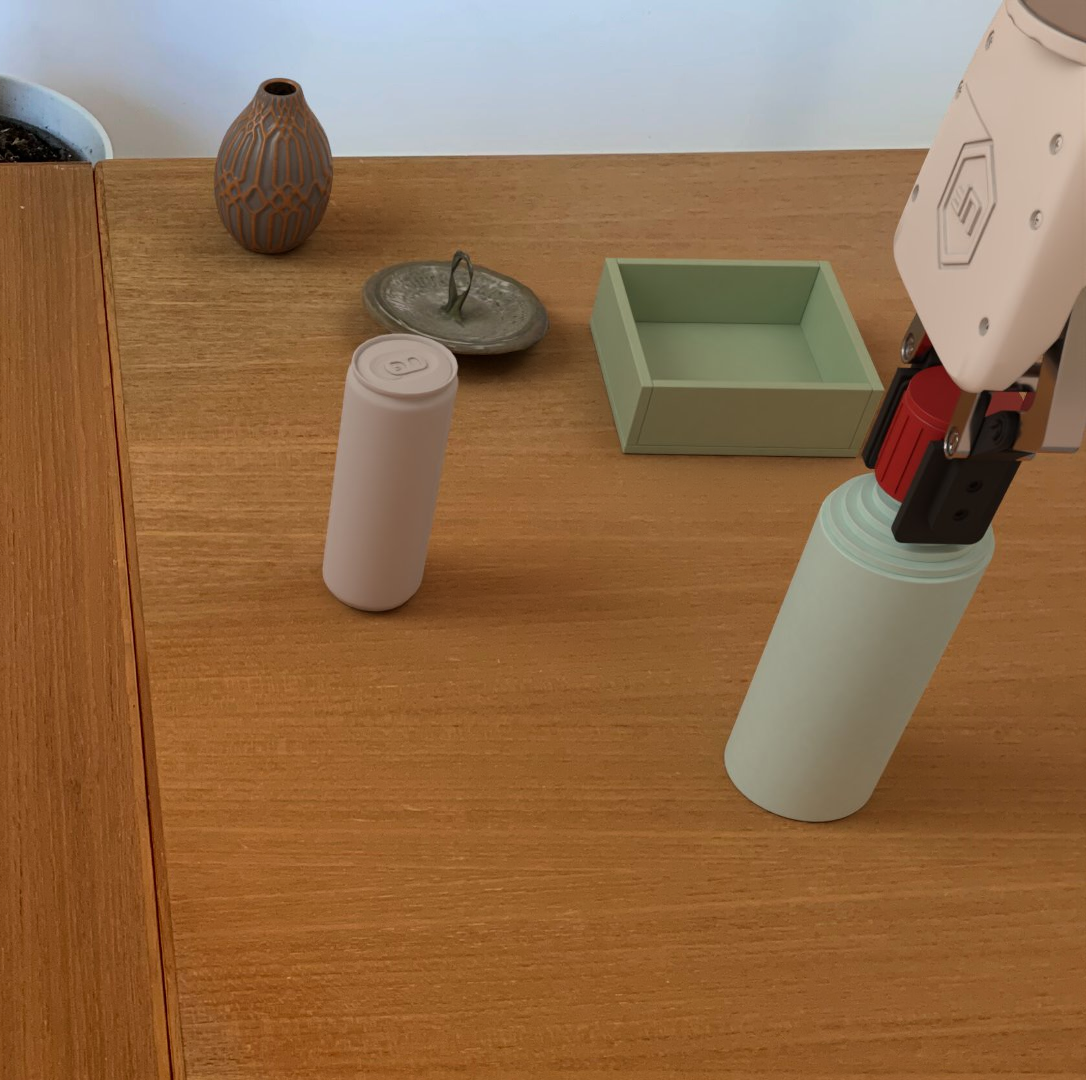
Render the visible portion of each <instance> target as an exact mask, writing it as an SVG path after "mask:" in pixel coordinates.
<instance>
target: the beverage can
mask: <svg viewBox="0 0 1086 1080" xmlns="http://www.w3.org/2000/svg"><path fill="white" fill-rule="evenodd" d="M352 354H353V355H352V357H351V363H350V364H349V367H348V369H347V373H346V377H345V385H344V393H343V401H342V409H341V417H340V425H339V432H338V441H337V450H336V457H335V465H334V474H333V479H332V481H333V482H332V489H331V495H330V496H331V497H330V505H329V513H328V521H327V530H326V537H325V545H324V552H323V553H324V554H323V561H322V570H321V571H322V572H321V573H322V578H323V581H324V583H325V585H326V587H327V589H328V590H329V591H330V593H331V594H332V595H333V596H334V597H335V598H336V599H338V600H339V602H342V603H343V604H345V605H347V606H348V607H350V608H352V609H353V608H354V609H357V610H360V611H365V612H366V611H367V612H384V611H389V610H393V609H395V608H397V607H400V606H402V605H403V604H405V603H406V602H407V601H409V600H410V598H411V597H412V596H414V595H415V593H416V592H417V591H418V590H419V588H420V587H421V585H422V580H423V576H424V571H425V565H426V561H427V555H428V550H429V545H430V538H431V533H432V527H433V523H434V516H435V511H436V507H437V500H438V496H439V489H440V484H441V479H442V473H443V468H444V463H445V457H446V452H447V447H448V441H449V436H450V430H451V425H452V420H453V415H454V410H455V409H454V408H455V404H456V398H457V393H458V389H459V378H458V371H459V370H458V369H459V365H458V362H457V358H456V356H455V355H454V354H453V352H451V351H450V350H448V349H447V348H446V347H445V346H443V345H442V344H440V343H438V342H436V341H434V340H432V339H429V338H425V337H422V336H418V335H411V334H393V333H389V334H382V335H377V336H375V337H372V338H370V339H367V340H366V341H364V342H363V343H360V345H359V346H358V347H357V348H356V349H355V350H354V351H353V353H352Z"/></svg>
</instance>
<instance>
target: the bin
mask: <svg viewBox="0 0 1086 1080" xmlns="http://www.w3.org/2000/svg"><path fill="white" fill-rule="evenodd" d="M589 319H590V320H589V327H590V333H591V335H592V340H593V343H594V346H595V351H596V354H597V358H598V363H599V366H600V370H601V374H602V378H603V381H604V385H605V389H606V392H607V396H608V400H609V404H610V408H611V413H612V416H613V421H614V424H615V428H616V431H617V435H618V439H619V443H620V446H621V450H622V453H623V454H639V455H640V454H643V455H645V454H646V455H648V454H649V455H703V456H705V455H706V456H707V455H708V456H709V455H710V456H759V457H760V456H761V457H765V456H767V457H818V458H819V457H822V458H823V457H824V458H825V457H827V458H831V457H832V458H857V457H858V456H859V453H860V451H861V449H862V446H863V443H864V442H865V439H866V437H867V434H868V432H869V430H870V427H871V424H872V421H873V420H874V417H875V414H876V412H877V410H878V408H879V405H880V404H881V403H880V402H881V400H882V397H883V395H884V393H885V391H886V389H885V388H884V385H883V382H882V380H881V378H880V376H879V373H878V371H877V369H876V366H875V363H874V362H873V360H872V357H871V355H870V353H869V351H868V348H867V345H866V343H865V342H864V341H865V340H864V339H863V336H862V333H861V332H860V330H859V329H860V328H859V327H858V324H857V323H856V320H855V318H854V316H853V314H852V312H851V309H850V307H849V304H848V301H847V300H846V297H845V295H844V293H843V290H842V287H841V286H840V283H839V281H838V278H837V276H836V274H835V272H834V269H833V267H832V265H831V263H830V261H829V260H792V259H791V260H790V259H789V260H787V259H786V260H785V259H784V260H783V259H774V260H773V259H724V258H723V259H719V258H717V259H716V258H715V259H714V258H655V257H653V258H650V257H646V258H645V257H605V259H604V263H603V267H602V271H601V275H600V279H599V282H598V288H597V290H596V295H595V299H594V305H593V307H592V310H591V315H590V318H589Z"/></svg>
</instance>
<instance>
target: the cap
mask: <svg viewBox="0 0 1086 1080" xmlns="http://www.w3.org/2000/svg"><path fill="white" fill-rule="evenodd" d="M961 390H962V389H961V388H960V387H959V386H958V385H957V384H956V383H955V382H954V381H953V380H952V378H951V377H950V376H949V374H948V373H947V371H946V369H945V367H944V366H943V365H941V366H935V367H930V368H927V369H925V370H922V371H920V372H919V373H917V374H916V375H915V376H914V377H913V378H912V379H911V381H910V383H909V385H908V388H907V390H906V391H904V394H903V396H902V398H901V401H900V403H899V406H898V408H897V411H896V413H895V416H894V418H893V420H892V423H891V425H890V428H889V430H888V433H887V435H886V437H885V440H884V442H883V445H882V447H881V450H880V452H879V455H878V457H879V458H878V460H877V463H876V465H875V469H874V473H875V477H876V480H877V482H878V484H879V486H880V487H881V488H882V489H883V490H884V491H885V492H886V493H887V494H888V495H889V496H891V497H892V498H893V499H895V500H897V501H899V502H900V503H902V502H903V499H904V497H905V495H906V493H907V491H908V488H909V486H910V484H911V482H912V480H913V477H914V475H915V473H916V471H917V469H918V466H919V464H920V462H921V460H922V458H923V455H924V453H925V451H926V449H927V446H928V444H929V442H930V440H944V437H945V434H946V431H947V428H948V426H949V423H950V420H951V417H952V415H953V412H954V409H955V407H956V404H957V401H958V398H959V396H960V393H961ZM1023 401H1024V398H1023V396H1022V394H1021V392H994V394H993V396H992V399H991V402H990V404H989V407H988V410H987V412H986V415H985V417H986V416H989V415H991V414H994V413H996V412H998V411H1002V410H1010V411H1013V410H1015V411H1020V408H1021V406H1022V403H1023Z"/></svg>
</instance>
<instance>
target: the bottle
mask: <svg viewBox="0 0 1086 1080" xmlns="http://www.w3.org/2000/svg"><path fill="white" fill-rule="evenodd" d="M901 504H902V503H900V502H899V501H897V500H895V499H893V498H892V497H891V496H889V495H888V494H887V493H886V492H885V491H884V490H883V489H882V488H881V487H880V486H879V484H878V482H877V480H876V477H875V472H868V473H864V474H861V475H857V476H854V477H852V478H850V479H848V480H846V481H844V482H843V483H842V484H840V485H839V486H838V487H837V488H835V489H833V490H832V491H831V492H830V493H829V494H827V496H826V497H825V499H824V500H823V501H822V504H821V506H820V508H819V511H818V513H817V515H816V518H815V520H814V523H813V526H812V529H811V531H810V533H809V536H808V538H807V541H806V543H805V546H804V547H803V550H802V553H801V556H800V559H799V561H798V563H797V566H796V569H795V571H794V574H793V576H792V579H791V581H790V584H789V586H788V589H787V591H786V594H785V596H784V599H783V601H782V604H781V606H780V608H779V611H778V614H777V617H776V619H775V621H774V624H773V626H772V629H771V631H770V634H769V637H768V639H767V642H766V643H765V647H764V650H763V651H762V654H761V657H760V659H759V663H758V664H757V667H756V668H755V671H754V675H753V676H752V679H751V682H750V685H749V688H748V690H747V692H746V695H745V697H744V699H743V702H742V705H741V707H740V710H739V712H738V714H737V718H736V720H735V722H734V725H733V727H732V730H731V732H730V735H729V737H728V740H727V742H726V744H725V749H724V757H723V760H724V765H725V770H726V773H727V775H728V776H729V779H730V781H731V782H732V783H733V785H734V786H735V787H736V789H737V790H738V791H739V792H740V793H741V794H742V795H743V796H744V797H746V798H747V799H748V800H749V801H751V802H752V803H754V804H755V805H757V806H758V807H760V808H762V809H763V810H765V811H768V812H769V813H771V814H774V815H777V816H780V817H782V818H787V819H791V820H793V821H794V820H795V821H800V822H801V821H802V822H813V823H816V822H817V823H818V822H820V823H821V822H830V821H836V820H840V819H843V818H845V817H848V816H850V815H852V814H854V813H856V812H858V811H859V810H860V809H861V808H863V807H864V806H865V805H866V804H867V802H868V801H869V800H870V798H871V796H872V795H873V793H874V791H875V789H876V786H877V785H878V782H879V781H880V779H881V777H882V775H883V773H884V771H885V769H886V768H887V765H888V764H889V761H890V759H891V757H892V756H893V753H894V752H895V749H896V747H897V745H898V743H899V741H900V739H901V738H902V735H903V733H904V731H905V730H906V727H907V725H908V724H909V722H910V720H911V718H912V716H913V714H914V713H915V710H916V708H917V706H918V704H919V702H920V700H921V698H922V696H923V695H924V692H925V690H926V689H927V686H928V685H929V683H930V680H931V678H932V676H933V675H934V672H935V671H936V668H937V666H938V665H939V663H940V660H941V659H942V657H943V655H944V654H945V651H946V649H947V648H948V645H949V643H950V641H951V639H952V637H953V635H954V634H955V631H956V630H957V628H958V625H960V624H959V623H960V621H961V620H962V618H963V616H964V614H965V612H966V610H967V608H968V606H969V604H970V602H971V600H972V598H973V596H974V594H975V593H976V590H977V589H978V586H979V584H980V582H981V580H982V578H983V576H984V574H985V572H986V570H987V569H988V566H989V565H990V562H991V561H992V559H993V557H994V553H995V547H996V541H995V536H994V528H993V525H992V522H991V523H990V525H989V527H988V529H987V531H986V533H985V535H984V537H983V538H982V539H981V540H980V541H979V542H977V543H975V544H972V545H955V544H913V543H899V542H897V541H896V540H895V538H894V536H893V533H892V531H891V526H892V524H893V522H894V519H895V517H896V515H897V513H898V510H899V508H900V506H901Z"/></svg>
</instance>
